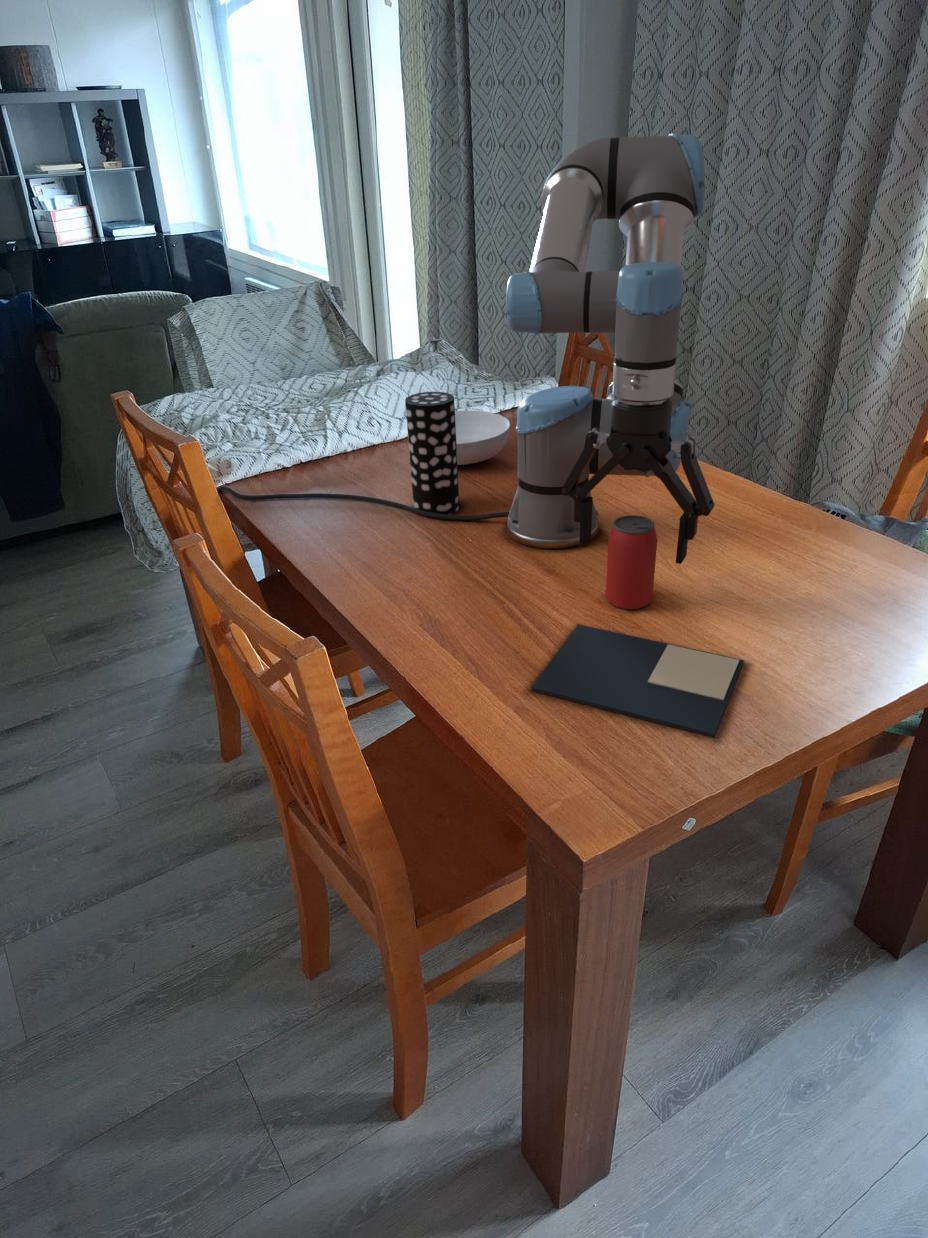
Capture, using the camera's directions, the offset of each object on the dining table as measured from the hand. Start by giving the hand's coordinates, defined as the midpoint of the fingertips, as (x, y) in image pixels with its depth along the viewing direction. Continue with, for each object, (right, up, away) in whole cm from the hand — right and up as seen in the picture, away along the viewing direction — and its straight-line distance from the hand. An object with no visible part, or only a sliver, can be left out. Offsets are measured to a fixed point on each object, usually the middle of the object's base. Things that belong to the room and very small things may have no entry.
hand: (631, 551), depth 114 cm
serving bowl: (-24, +24, +58) cm, 67 cm away
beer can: (0, -7, +4) cm, 8 cm away
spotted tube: (-28, +11, +36) cm, 47 cm away
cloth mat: (-2, -17, -12) cm, 21 cm away
